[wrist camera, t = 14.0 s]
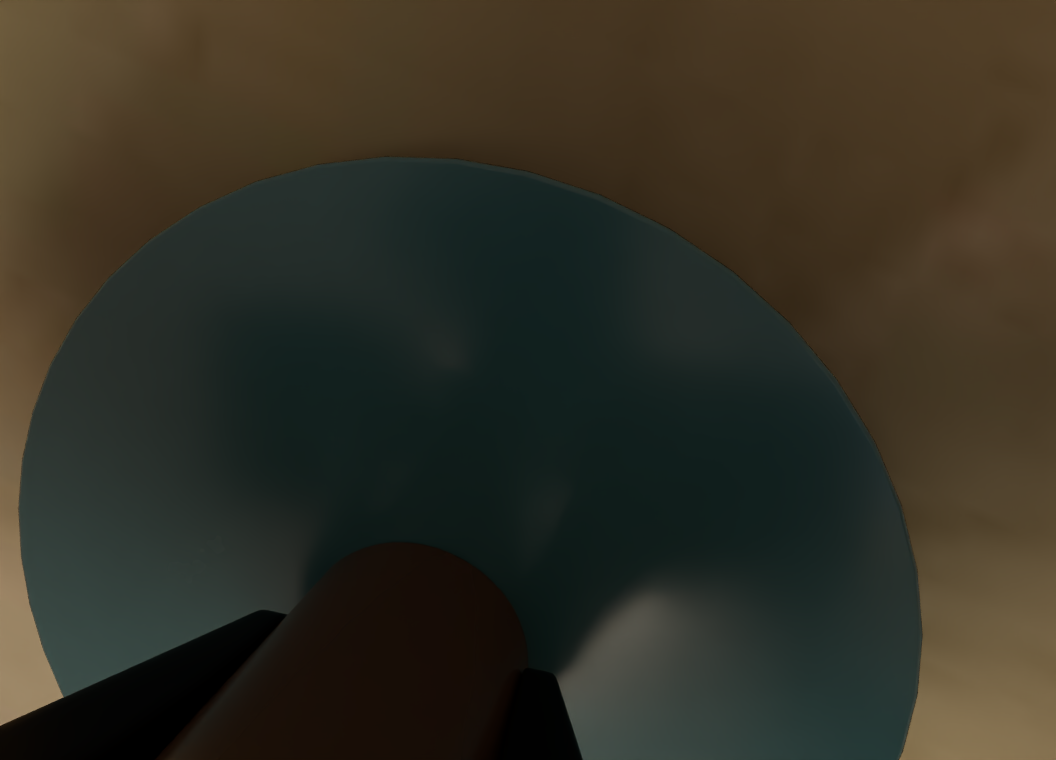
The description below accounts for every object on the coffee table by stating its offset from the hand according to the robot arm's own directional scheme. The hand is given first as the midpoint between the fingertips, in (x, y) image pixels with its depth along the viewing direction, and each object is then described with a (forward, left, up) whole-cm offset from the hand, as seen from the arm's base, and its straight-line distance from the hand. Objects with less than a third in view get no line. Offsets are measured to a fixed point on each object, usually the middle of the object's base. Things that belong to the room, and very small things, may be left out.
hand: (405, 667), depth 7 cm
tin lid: (0, 0, -1) cm, 1 cm away
